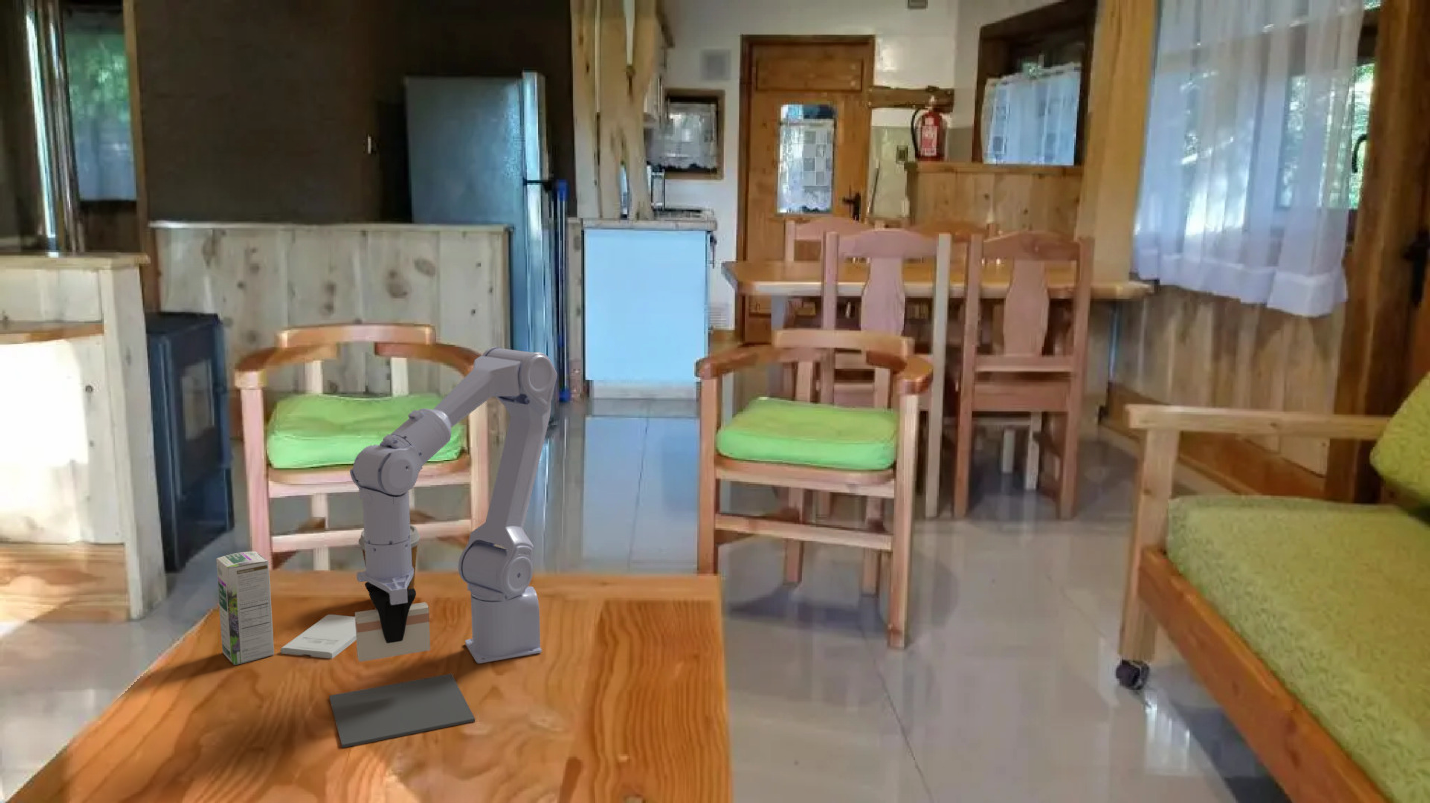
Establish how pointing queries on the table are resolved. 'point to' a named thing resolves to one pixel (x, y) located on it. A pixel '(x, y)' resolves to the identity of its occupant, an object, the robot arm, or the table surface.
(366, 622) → the card deck
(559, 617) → the table surface
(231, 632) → the syrup box
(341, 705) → the mat
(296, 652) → the external hard drive
